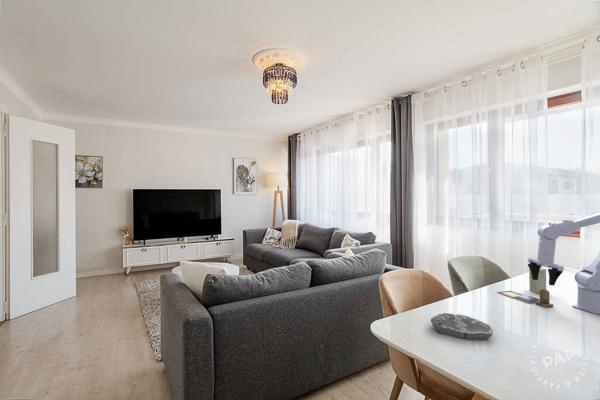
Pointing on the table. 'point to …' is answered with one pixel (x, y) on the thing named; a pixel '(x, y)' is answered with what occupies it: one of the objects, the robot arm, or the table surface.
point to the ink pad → (527, 298)
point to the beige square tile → (510, 294)
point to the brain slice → (461, 326)
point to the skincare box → (538, 281)
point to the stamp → (544, 299)
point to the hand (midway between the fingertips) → (543, 282)
